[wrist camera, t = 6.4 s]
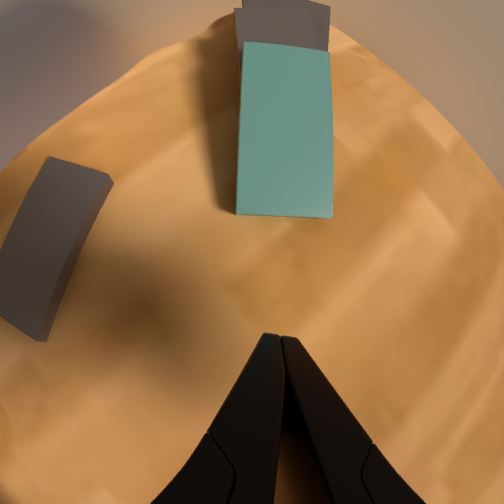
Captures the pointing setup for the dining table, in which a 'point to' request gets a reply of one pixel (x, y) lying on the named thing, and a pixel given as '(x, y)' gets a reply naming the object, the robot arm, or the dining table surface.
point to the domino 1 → (48, 243)
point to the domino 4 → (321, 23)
